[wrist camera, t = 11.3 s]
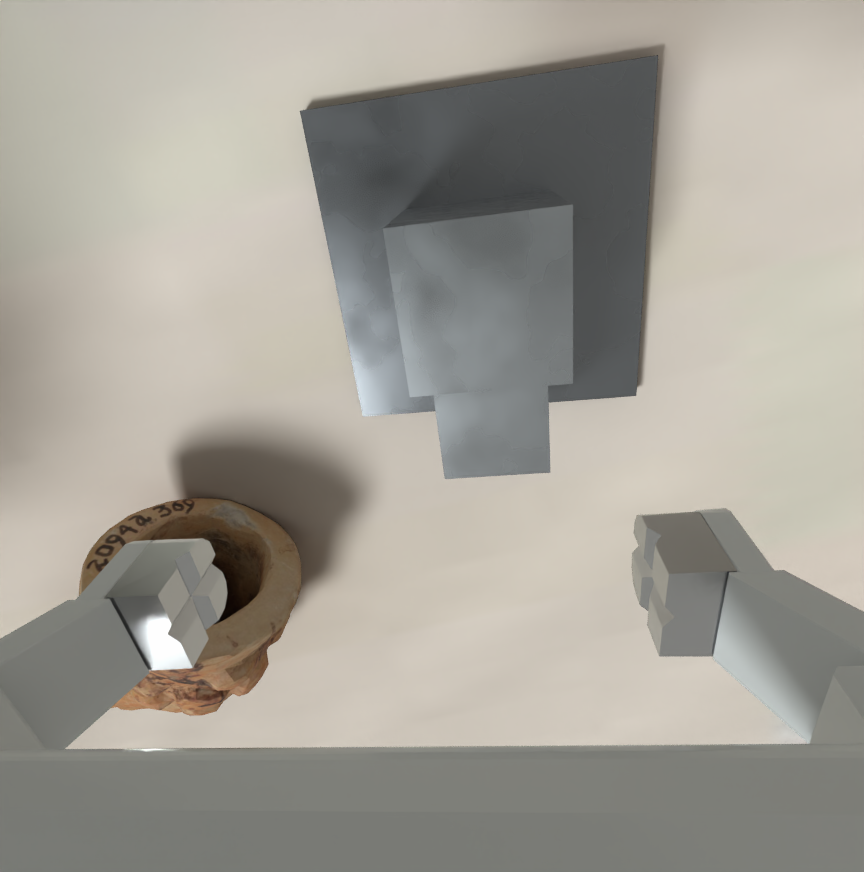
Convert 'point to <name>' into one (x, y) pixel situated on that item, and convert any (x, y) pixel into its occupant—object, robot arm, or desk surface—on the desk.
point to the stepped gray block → (486, 323)
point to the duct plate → (485, 178)
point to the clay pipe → (245, 605)
